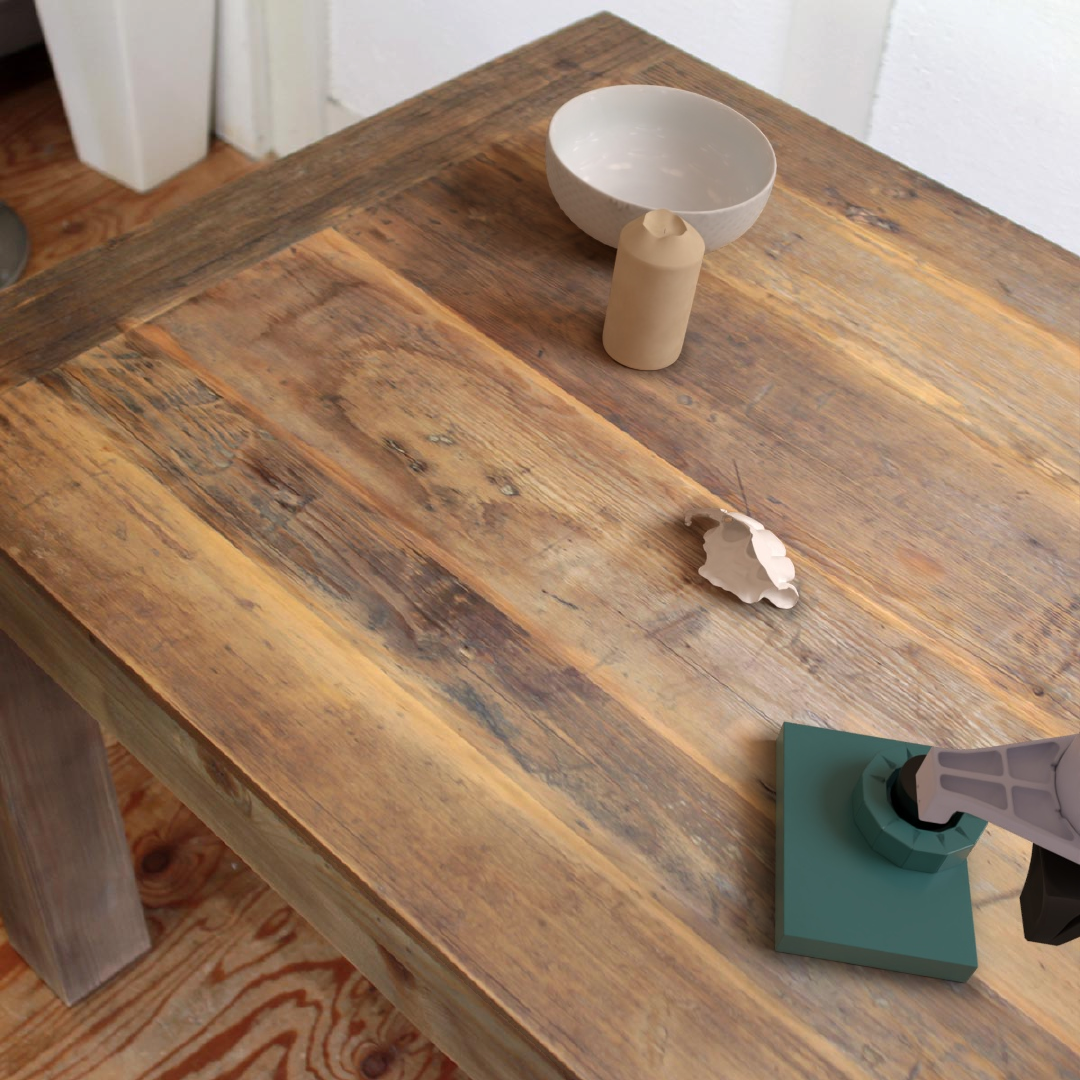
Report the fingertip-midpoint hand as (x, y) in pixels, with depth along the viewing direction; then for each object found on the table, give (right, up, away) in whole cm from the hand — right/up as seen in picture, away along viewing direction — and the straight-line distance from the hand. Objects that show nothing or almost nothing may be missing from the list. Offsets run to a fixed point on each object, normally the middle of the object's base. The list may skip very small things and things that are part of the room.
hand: (1038, 920), depth 54 cm
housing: (-4, 0, +12) cm, 13 cm away
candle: (-13, +29, +38) cm, 49 cm away
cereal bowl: (-12, +39, +48) cm, 63 cm away
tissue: (-9, +14, +25) cm, 30 cm away
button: (-2, +3, +11) cm, 11 cm away
